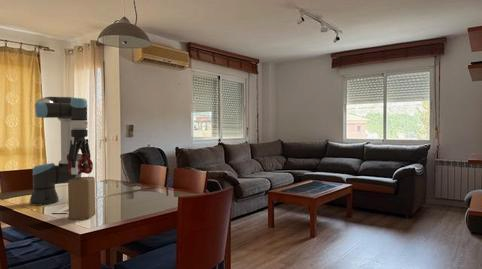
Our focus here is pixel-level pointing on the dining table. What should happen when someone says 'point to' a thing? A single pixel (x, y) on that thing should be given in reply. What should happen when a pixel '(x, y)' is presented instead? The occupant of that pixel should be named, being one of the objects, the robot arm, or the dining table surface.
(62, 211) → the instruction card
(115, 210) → the dining table surface
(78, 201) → the wooden block
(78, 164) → the red patterned box
